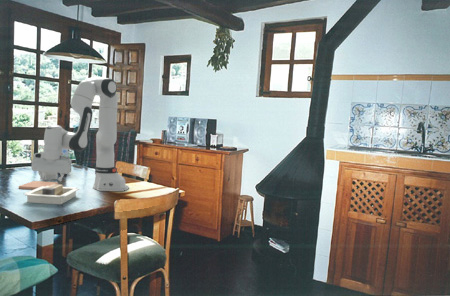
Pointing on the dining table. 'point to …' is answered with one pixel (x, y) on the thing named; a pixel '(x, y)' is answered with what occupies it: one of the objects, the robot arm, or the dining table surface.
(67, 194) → the white square tray
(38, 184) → the terracotta tile
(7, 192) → the dining table surface
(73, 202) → the dining table surface
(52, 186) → the box
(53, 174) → the skincare box
